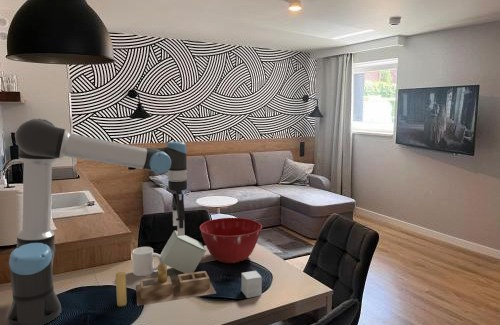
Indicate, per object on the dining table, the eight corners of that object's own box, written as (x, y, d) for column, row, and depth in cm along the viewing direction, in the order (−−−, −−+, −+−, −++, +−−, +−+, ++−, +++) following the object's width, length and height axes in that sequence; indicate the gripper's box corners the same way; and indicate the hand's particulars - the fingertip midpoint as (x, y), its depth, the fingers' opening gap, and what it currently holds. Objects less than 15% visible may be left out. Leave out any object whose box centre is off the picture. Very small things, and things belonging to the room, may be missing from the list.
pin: (117, 309, 127) (115, 276, 126) (117, 305, 130) (115, 272, 129) (126, 308, 128) (125, 275, 127) (126, 303, 131) (125, 271, 130)
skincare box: (241, 290, 141) (241, 272, 140) (256, 288, 143) (256, 270, 142) (246, 298, 135) (246, 279, 134) (262, 295, 138) (262, 276, 137)
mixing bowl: (192, 251, 179) (192, 220, 177) (246, 243, 191) (246, 214, 189) (211, 275, 154) (211, 239, 152) (272, 263, 166) (272, 230, 164)
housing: (162, 263, 149) (177, 237, 149) (160, 254, 158) (174, 229, 158) (191, 276, 153) (206, 250, 154) (187, 266, 162) (201, 242, 163)
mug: (164, 269, 160) (163, 246, 158) (161, 277, 151) (160, 253, 150) (136, 269, 159) (135, 246, 157) (131, 278, 151) (130, 254, 149)
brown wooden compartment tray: (137, 308, 128) (136, 278, 126) (135, 287, 143) (134, 260, 141) (216, 295, 137) (216, 267, 135) (207, 277, 152) (206, 251, 150)
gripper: (192, 185, 140) (193, 239, 143) (182, 174, 164) (183, 220, 167) (172, 186, 138) (173, 241, 141) (164, 175, 161) (166, 222, 164)
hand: (178, 230), depth 154 cm, fingers open, 13 cm apart
